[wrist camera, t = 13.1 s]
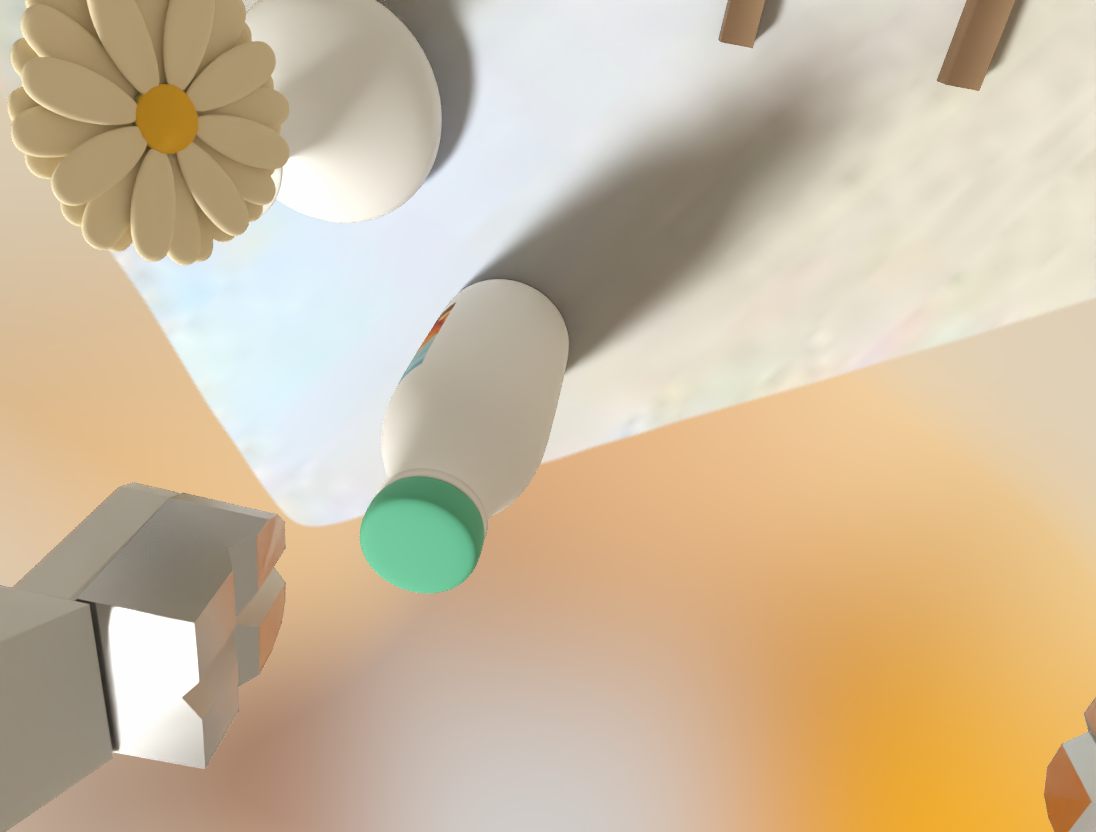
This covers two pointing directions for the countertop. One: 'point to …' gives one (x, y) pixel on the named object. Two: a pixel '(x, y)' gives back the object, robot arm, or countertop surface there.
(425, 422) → the milk bottle
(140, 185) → the flower in vase
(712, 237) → the countertop surface
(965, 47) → the beam slot
